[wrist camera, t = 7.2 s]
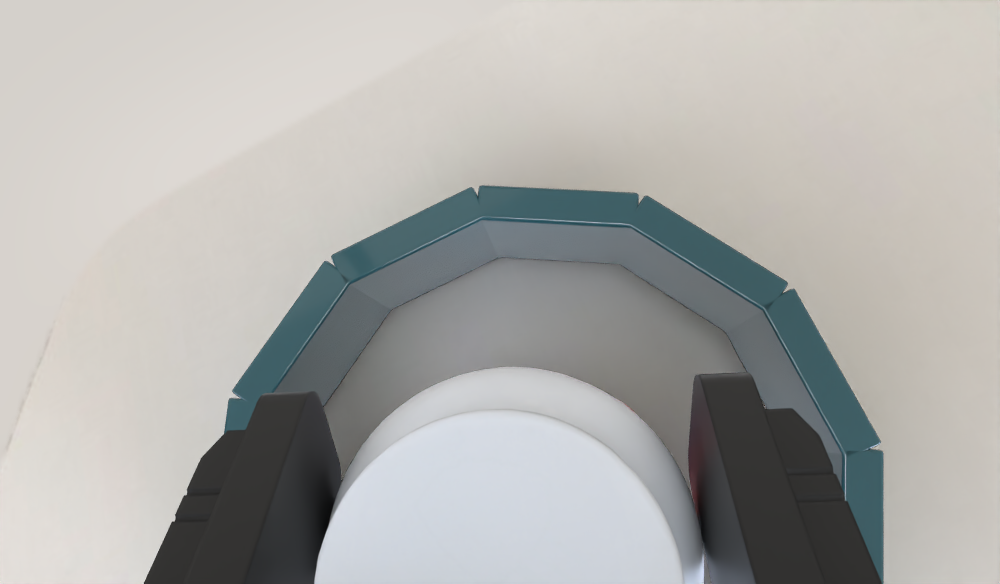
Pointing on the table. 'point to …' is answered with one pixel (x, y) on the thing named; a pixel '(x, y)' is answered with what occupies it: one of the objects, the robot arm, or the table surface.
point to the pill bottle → (512, 491)
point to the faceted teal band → (579, 238)
